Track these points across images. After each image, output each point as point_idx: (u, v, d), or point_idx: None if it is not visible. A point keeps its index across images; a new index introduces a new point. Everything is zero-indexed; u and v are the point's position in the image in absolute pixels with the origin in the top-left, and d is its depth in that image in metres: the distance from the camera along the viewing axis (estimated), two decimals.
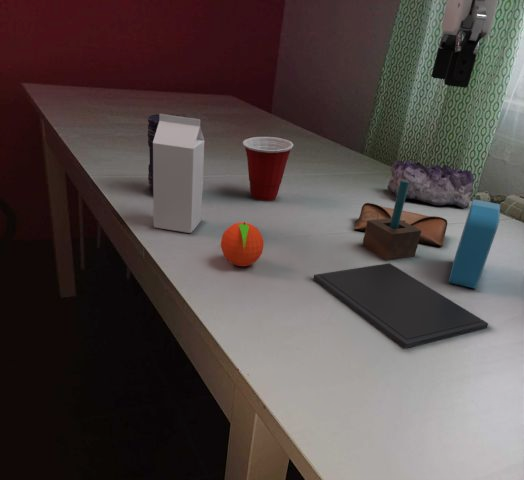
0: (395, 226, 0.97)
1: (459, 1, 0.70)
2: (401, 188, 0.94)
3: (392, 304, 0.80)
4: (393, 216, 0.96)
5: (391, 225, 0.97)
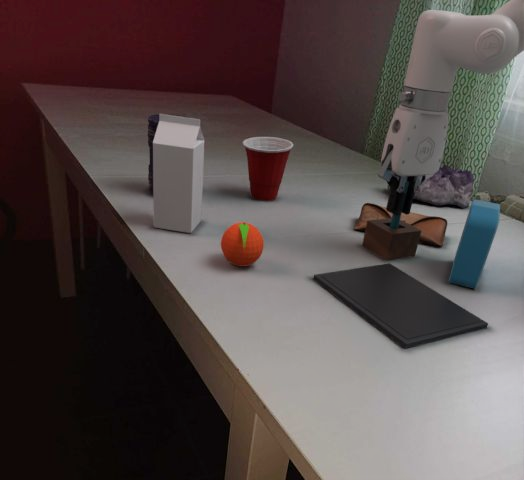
0: (395, 226, 0.97)
1: None
2: None
3: (392, 304, 0.80)
4: (393, 216, 0.96)
5: (391, 225, 0.97)
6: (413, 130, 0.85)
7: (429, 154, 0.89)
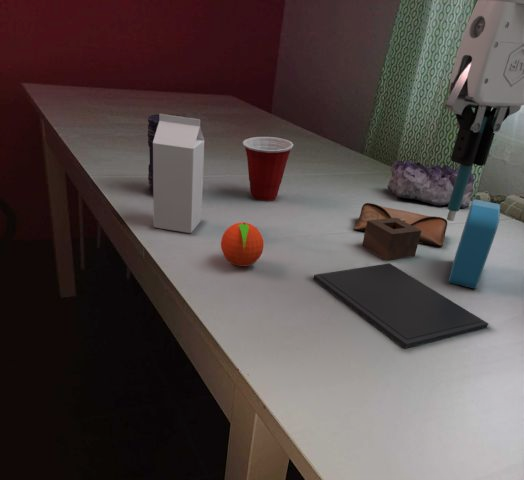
0: (462, 183, 0.69)
1: None
2: None
3: (392, 304, 0.80)
4: (461, 169, 0.68)
5: (458, 181, 0.69)
6: (504, 30, 0.57)
7: (522, 72, 0.61)
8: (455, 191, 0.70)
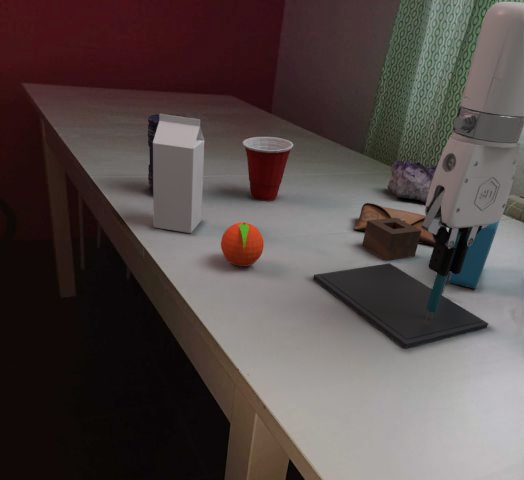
0: (439, 288, 0.74)
1: None
2: None
3: (392, 304, 0.80)
4: (438, 276, 0.73)
5: (435, 287, 0.74)
6: (473, 168, 0.62)
7: (492, 198, 0.66)
8: (433, 295, 0.74)
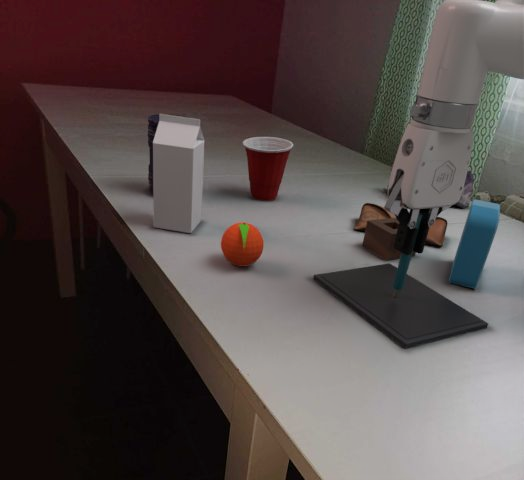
0: (404, 267, 0.79)
1: None
2: None
3: (392, 304, 0.80)
4: (402, 255, 0.78)
5: (400, 266, 0.79)
6: (429, 152, 0.67)
7: (448, 181, 0.71)
8: (398, 273, 0.80)
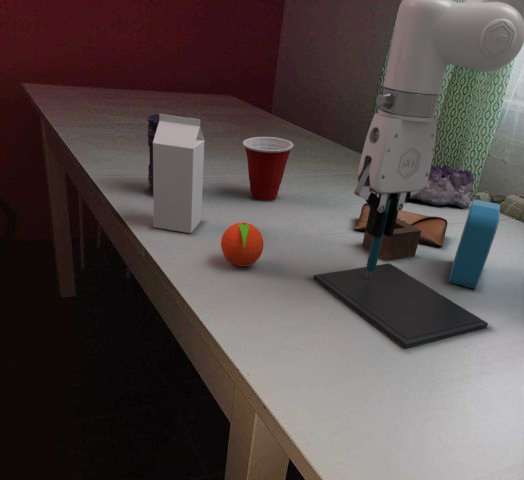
0: (375, 250, 0.84)
1: None
2: None
3: (392, 304, 0.80)
4: (373, 238, 0.83)
5: (372, 248, 0.84)
6: (394, 140, 0.72)
7: (414, 167, 0.76)
8: (370, 256, 0.84)
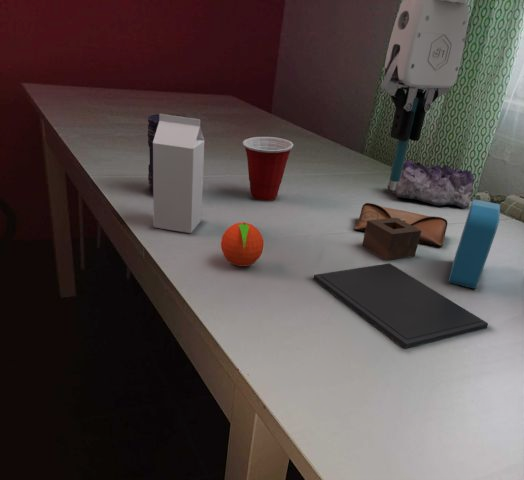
0: (401, 156, 0.79)
1: None
2: None
3: (392, 304, 0.80)
4: (399, 144, 0.79)
5: (397, 155, 0.79)
6: (425, 22, 0.67)
7: (444, 59, 0.71)
8: (395, 163, 0.80)
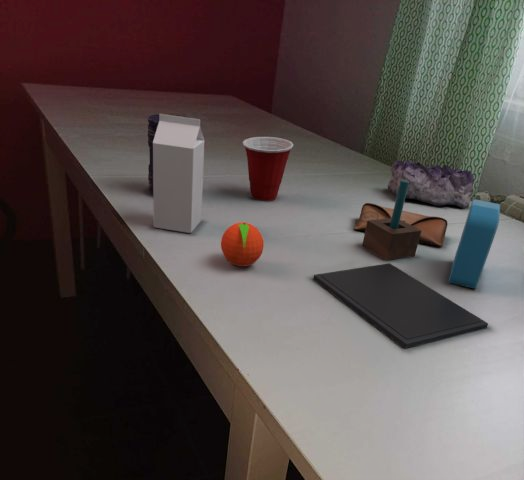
0: (395, 226, 0.97)
1: None
2: (401, 188, 0.94)
3: (392, 304, 0.80)
4: (393, 216, 0.96)
5: (391, 225, 0.97)
6: None
7: None
8: None
